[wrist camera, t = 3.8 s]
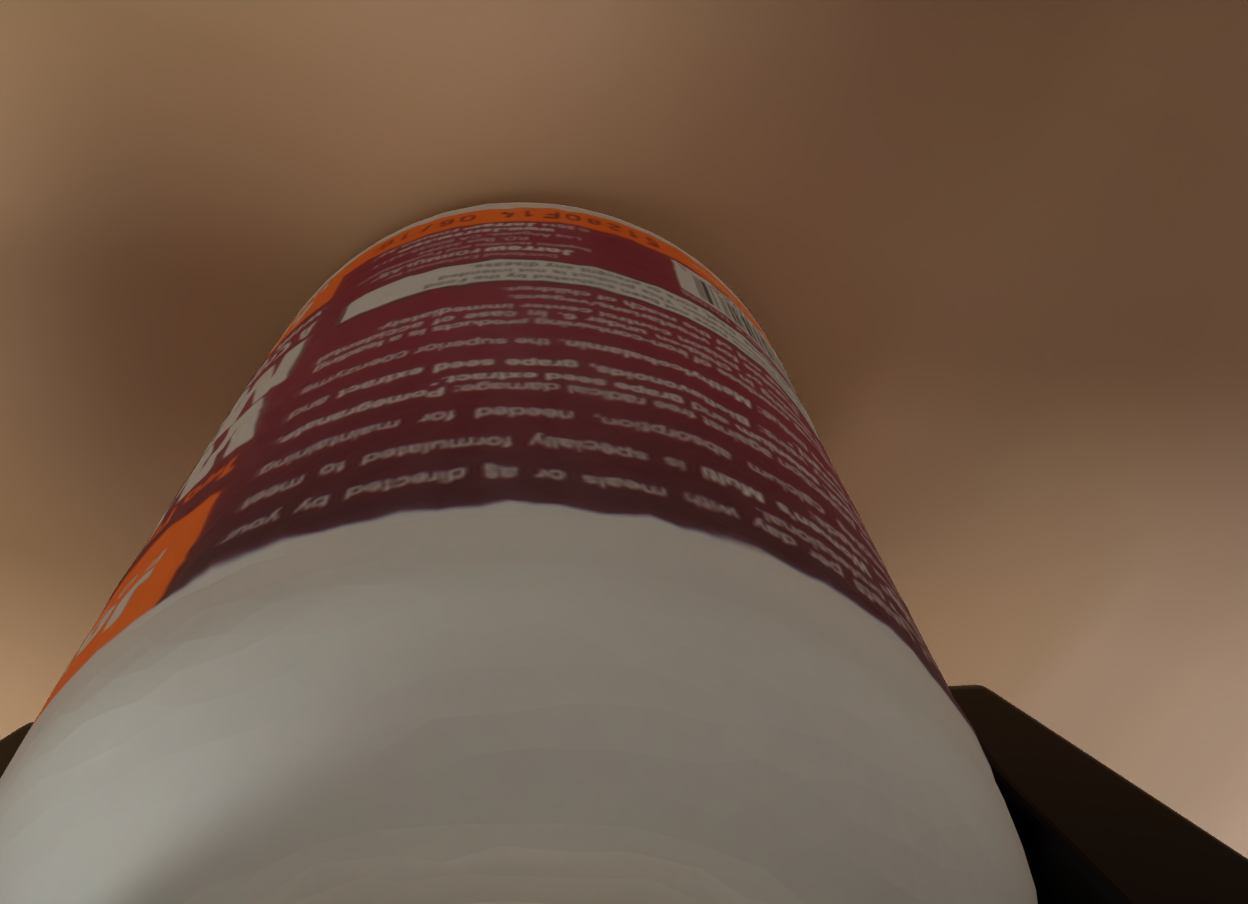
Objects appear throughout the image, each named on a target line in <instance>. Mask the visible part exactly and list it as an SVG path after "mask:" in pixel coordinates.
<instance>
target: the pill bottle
mask: <svg viewBox="0 0 1248 904" xmlns="http://www.w3.org/2000/svg"><path fill="white" fill-rule="evenodd" d="M0 904H1038V901H1037V894H1036V888H1035V885H1034V882H1033V879H1032V875H1031V872H1030V869H1029V866H1028V862H1027V859H1026V856H1025V853H1024V849H1023V846H1022V844H1021V841H1020V838H1019V836H1018V833H1017V831H1016V828H1015V826H1014V823H1013V821H1012V818H1011V816H1010V813H1009V811H1008V808H1007V806H1006V803H1005V801H1004V798H1003V796H1002V794H1001V792H1000V790H999V788H998V786H997V784H996V782H995V779H994V776H993V773H992V770H991V767H990V764H989V762H988V760H987V758H986V756H985V754H984V752H983V750H982V747H981V745H980V743H979V740H978V738H977V735H976V733H975V730H974V728H973V726H972V725H971V723H970V722H969V720H968V719H967V717H966V715H965V714H964V712H963V711H962V709H961V708H960V706H959V705H958V703H957V702H956V700H955V699H954V697H953V696H952V694H951V692H950V690H949V688H948V686H947V684H946V682H945V680H944V678H943V676H942V674H941V672H940V670H939V668H938V667H937V665H936V663H935V661H934V660H933V658H932V656H931V654H930V652H929V650H928V648H927V646H926V644H925V642H924V640H923V638H922V636H921V634H920V633H919V631H918V629H917V627H916V625H915V623H914V621H913V619H912V617H911V615H910V613H909V611H908V609H907V607H906V605H905V603H904V602H903V600H902V598H901V596H900V595H899V593H898V591H897V589H896V587H895V585H894V583H893V581H892V580H891V578H890V576H889V574H888V572H887V570H886V568H885V566H884V564H883V562H882V560H881V558H880V556H879V554H878V552H877V550H876V548H875V546H874V544H873V542H872V541H871V539H870V537H869V535H868V533H867V531H866V529H865V527H864V524H863V522H862V520H861V518H860V516H859V514H858V512H857V510H856V508H855V507H854V505H853V503H852V501H851V499H850V497H849V496H848V494H847V492H846V490H845V488H844V486H843V484H842V483H841V481H840V479H839V477H838V475H837V473H836V471H835V470H834V468H833V466H832V464H831V462H830V460H829V458H828V456H827V454H826V452H825V450H824V448H823V446H822V444H821V442H820V439H819V437H818V435H817V432H816V430H815V428H814V425H813V423H812V421H811V419H810V417H809V416H808V414H807V412H806V411H805V409H804V407H803V406H802V404H801V402H800V400H799V398H798V396H797V394H796V392H795V390H794V388H793V385H792V383H791V381H790V379H789V376H788V374H787V372H786V370H785V368H784V366H783V365H782V363H781V361H780V360H779V358H778V356H777V354H776V353H775V351H774V350H773V348H772V346H771V344H770V342H769V341H768V339H767V337H766V335H765V333H764V332H763V331H762V329H761V328H760V326H759V325H758V323H757V322H756V321H755V319H754V318H753V316H752V315H751V313H750V312H749V311H748V309H747V308H746V307H745V306H744V305H743V303H742V302H741V301H740V300H739V298H738V297H737V296H736V295H735V294H734V293H733V292H732V291H731V290H730V289H729V288H728V287H727V286H726V285H725V284H724V283H723V282H722V281H721V280H720V279H719V278H718V277H717V276H716V275H715V274H714V273H712V272H711V271H710V270H709V269H708V268H706V267H705V266H704V265H703V264H702V263H700V262H699V261H698V260H697V259H695V258H694V257H692V256H691V255H689V254H688V253H686V252H685V251H683V250H682V249H680V248H679V247H677V246H676V245H674V244H673V243H671V242H669V241H667V240H666V239H664V238H662V237H660V236H658V235H656V234H655V233H653V232H650V231H648V230H646V229H643V228H641V227H638V226H636V225H634V224H631V223H629V222H626V221H624V220H622V219H619V218H616V217H613V216H609V215H606V214H602V213H598V212H594V211H590V210H586V209H582V208H578V207H573V206H566V205H560V204H551V203H532V202H513V203H492V204H482V205H477V206H472V207H467V208H462V209H457V210H452V211H448V212H443V213H440V214H438V215H435V216H432V217H429V218H427V219H424V220H421V221H418V222H416V223H413V224H410V225H408V226H406V227H404V228H402V229H400V230H398V231H396V232H394V233H392V234H390V235H388V236H386V237H385V238H383V239H381V240H379V241H378V242H376V243H375V244H373V245H371V246H370V247H368V248H367V249H365V250H364V251H362V252H361V253H359V254H358V255H357V256H355V257H354V258H352V259H351V260H350V261H348V262H347V263H346V264H345V265H344V266H343V267H341V268H340V269H339V270H338V271H337V272H336V273H334V274H333V275H332V276H331V277H330V278H329V279H327V281H326V282H325V283H324V284H323V285H322V286H321V287H320V288H319V289H318V290H317V291H316V292H315V293H314V294H313V296H312V297H311V298H310V299H309V300H308V301H307V303H306V304H305V305H304V306H303V307H302V309H301V310H300V311H299V312H298V314H297V315H296V317H295V318H294V319H293V321H292V322H291V323H290V325H289V326H288V328H287V329H286V330H285V332H284V333H283V335H282V336H281V338H280V339H279V340H278V342H277V343H276V345H275V346H274V348H273V349H272V350H271V352H270V353H269V355H268V357H267V358H266V360H265V361H264V363H263V364H262V366H261V367H260V368H259V370H258V371H257V373H256V374H255V375H254V376H253V378H252V379H251V380H250V382H249V383H248V385H247V386H246V388H245V390H244V392H243V394H242V395H241V397H240V398H239V400H238V401H237V402H236V404H235V405H234V407H233V408H232V410H231V411H230V413H229V414H228V416H227V417H226V419H225V420H224V422H223V424H222V425H221V427H220V429H219V430H218V432H217V434H216V435H215V437H214V438H213V440H212V441H211V442H210V444H209V445H208V447H207V449H206V450H205V452H204V454H203V456H202V457H201V459H200V461H199V462H198V464H197V465H196V467H195V468H194V469H193V471H192V472H191V474H190V475H189V477H188V478H187V480H186V481H185V483H184V484H183V486H182V487H181V488H180V490H179V492H178V494H177V495H176V497H175V499H174V500H173V502H172V503H171V505H170V506H169V508H168V509H167V510H166V512H165V514H164V515H163V517H162V518H161V520H160V521H159V523H158V525H157V527H156V528H155V530H154V532H153V533H152V535H151V537H150V538H149V540H148V542H147V543H146V545H145V547H144V548H143V550H142V552H141V553H140V554H139V556H138V557H137V559H136V560H135V561H134V563H133V564H132V566H131V567H130V568H129V570H128V571H127V572H126V574H125V575H124V577H123V578H122V580H121V581H120V583H119V585H118V586H117V588H116V589H115V591H114V592H113V594H112V596H111V598H110V599H109V601H108V603H107V605H106V607H105V608H104V610H103V612H102V614H101V615H100V617H99V619H98V621H97V622H96V624H95V626H94V627H93V629H92V630H91V632H90V633H89V635H88V636H87V638H86V639H85V641H84V642H83V644H82V645H81V647H80V648H79V650H78V651H77V653H76V654H75V656H74V657H73V659H72V661H71V662H70V664H69V666H68V667H67V669H66V670H65V672H64V674H63V675H62V677H61V678H60V680H59V682H58V683H57V685H56V687H55V688H54V690H53V691H52V693H51V695H50V697H49V698H48V700H47V702H46V704H45V706H44V707H43V709H42V710H41V712H40V714H39V715H38V717H37V718H36V720H35V722H34V723H33V725H32V726H31V728H30V730H29V731H28V733H27V735H26V736H25V738H24V740H23V741H22V743H21V745H20V746H19V748H18V750H17V752H16V753H15V755H14V757H13V758H12V760H11V762H10V763H9V765H8V767H7V768H6V770H5V772H4V773H3V775H2V777H1V778H0Z"/></svg>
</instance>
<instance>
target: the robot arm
mask: <svg viewBox="0 0 1248 904" xmlns="http://www.w3.org/2000/svg"><path fill="white" fill-rule="evenodd" d="M948 688H949V690H950V692H951V694H952V696H953V697H954V699H955V700H956V702H957V703H958V705H959V706H960V708H961V709H962V711H963V712H964V714H965V715H966V717H967V719H968V720H969V722H970V723H971V725H972V726H973V728H974V730H975V733H976V735H977V738H978V740H979V743H980V745H981V747H982V750H983V752H984V754H985V756H986V758H987V760H988V762H989V764H990V767H991V770H992V773H993V776H994V779H995V782H996V784H997V786H998V788H999V790H1000V792H1001V794H1002V796H1003V798H1004V801H1005V803H1006V806H1007V808H1008V811H1009V813H1010V816H1011V818H1012V821H1013V823H1014V826H1015V828H1016V831H1017V833H1018V836H1019V838H1020V841H1021V844H1022V846H1023V849H1024V853H1025V856H1026V859H1027V862H1028V866H1029V869H1030V872H1031V875H1032V879H1033V882H1034V885H1035V888H1036V894H1037V901H1038V904H1248V859H1247V858H1245V857H1244V856H1242V855H1241V854H1239V853H1238V852H1236V851H1235V850H1233V849H1232V848H1230V847H1229V846H1227V845H1226V844H1224V843H1223V842H1221V841H1220V840H1218V839H1217V838H1215V837H1213V836H1212V835H1210V834H1209V833H1207V832H1206V831H1204V830H1203V829H1201V828H1200V827H1198V826H1197V825H1195V824H1194V823H1192V822H1191V821H1189V820H1188V819H1186V818H1185V817H1183V816H1181V815H1180V814H1178V813H1177V812H1175V811H1174V810H1172V809H1171V808H1169V807H1168V806H1166V805H1165V804H1163V803H1162V802H1160V801H1159V800H1157V799H1156V798H1154V797H1153V796H1151V795H1149V794H1148V793H1146V792H1145V791H1143V790H1142V789H1140V788H1139V787H1137V786H1136V785H1134V784H1133V783H1131V782H1130V781H1128V780H1127V779H1125V778H1124V777H1122V776H1121V775H1119V774H1117V773H1116V772H1114V771H1113V770H1111V769H1110V768H1108V767H1107V766H1105V765H1104V764H1102V763H1101V762H1099V761H1098V760H1096V759H1095V758H1093V757H1092V756H1090V755H1089V754H1087V753H1085V752H1084V751H1082V750H1081V749H1079V748H1078V747H1076V746H1075V745H1073V744H1072V743H1070V742H1069V741H1067V740H1066V739H1064V738H1063V737H1061V736H1060V735H1058V734H1057V733H1055V732H1053V731H1052V730H1050V729H1049V728H1047V727H1046V726H1044V725H1043V724H1041V723H1040V722H1038V721H1037V720H1035V719H1034V718H1032V717H1031V716H1029V715H1028V714H1026V713H1025V712H1023V711H1021V710H1020V709H1018V708H1017V707H1015V706H1014V705H1012V704H1011V703H1009V702H1008V701H1006V700H1005V699H1003V698H1002V697H1000V696H999V695H997V694H996V693H994V692H993V691H991V690H989V689H987V688H986V687H984V686H980V685H963V686H948ZM33 723H34V722H32V723H28V724H26V725H24V726H22V727H21V728H19V729H18V730H16V731H15V732H13V733H11V734H10V735H8V736H7V737H5V738H3V739H2V740H0V778H1V777H2V775H3V773H4V772H5V770H6V768H7V767H8V765H9V763H10V762H11V760H12V758H13V757H14V755H15V753H16V752H17V750H18V748H19V746H20V745H21V743H22V741H23V740H24V738H25V736H26V735H27V733H28V731H29V730H30V728H31V726H32V725H33Z"/></svg>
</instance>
